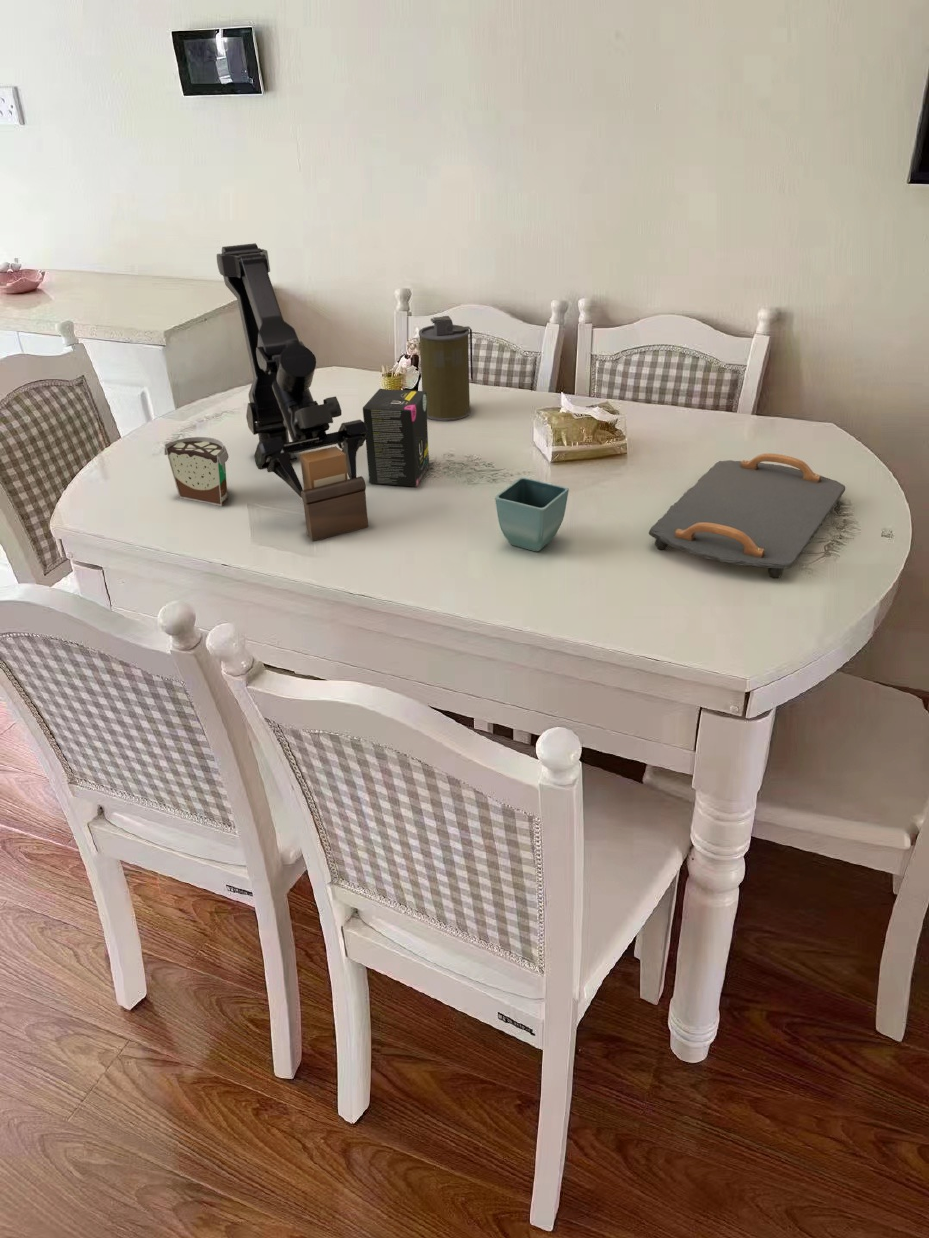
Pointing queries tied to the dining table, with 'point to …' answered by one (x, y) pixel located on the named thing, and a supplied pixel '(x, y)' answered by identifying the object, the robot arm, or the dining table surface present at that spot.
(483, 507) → the dining table surface
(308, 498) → the backrest
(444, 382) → the canister
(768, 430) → the dining table surface
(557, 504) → the flower pot
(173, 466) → the food container
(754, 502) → the serving tray
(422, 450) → the tampon box
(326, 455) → the cardboard box
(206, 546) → the dining table surface
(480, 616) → the dining table surface
